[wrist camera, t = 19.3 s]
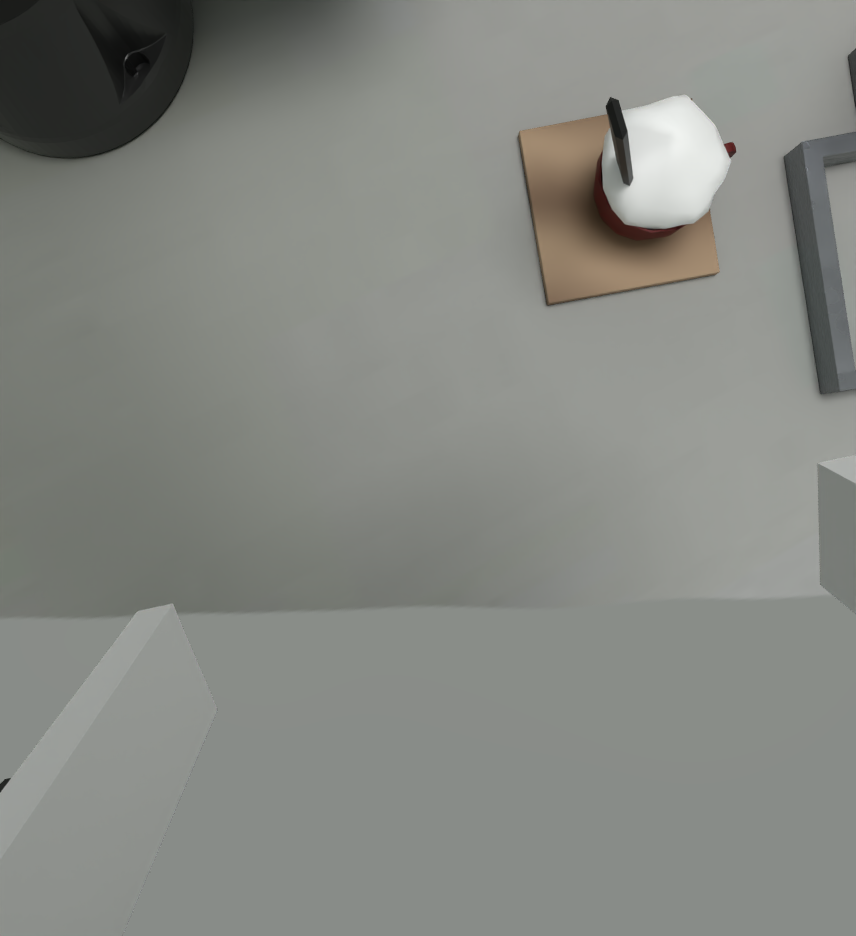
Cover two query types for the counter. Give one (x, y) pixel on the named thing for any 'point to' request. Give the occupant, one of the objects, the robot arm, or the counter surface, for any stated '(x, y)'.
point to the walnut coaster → (596, 222)
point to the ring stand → (822, 252)
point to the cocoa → (658, 167)
